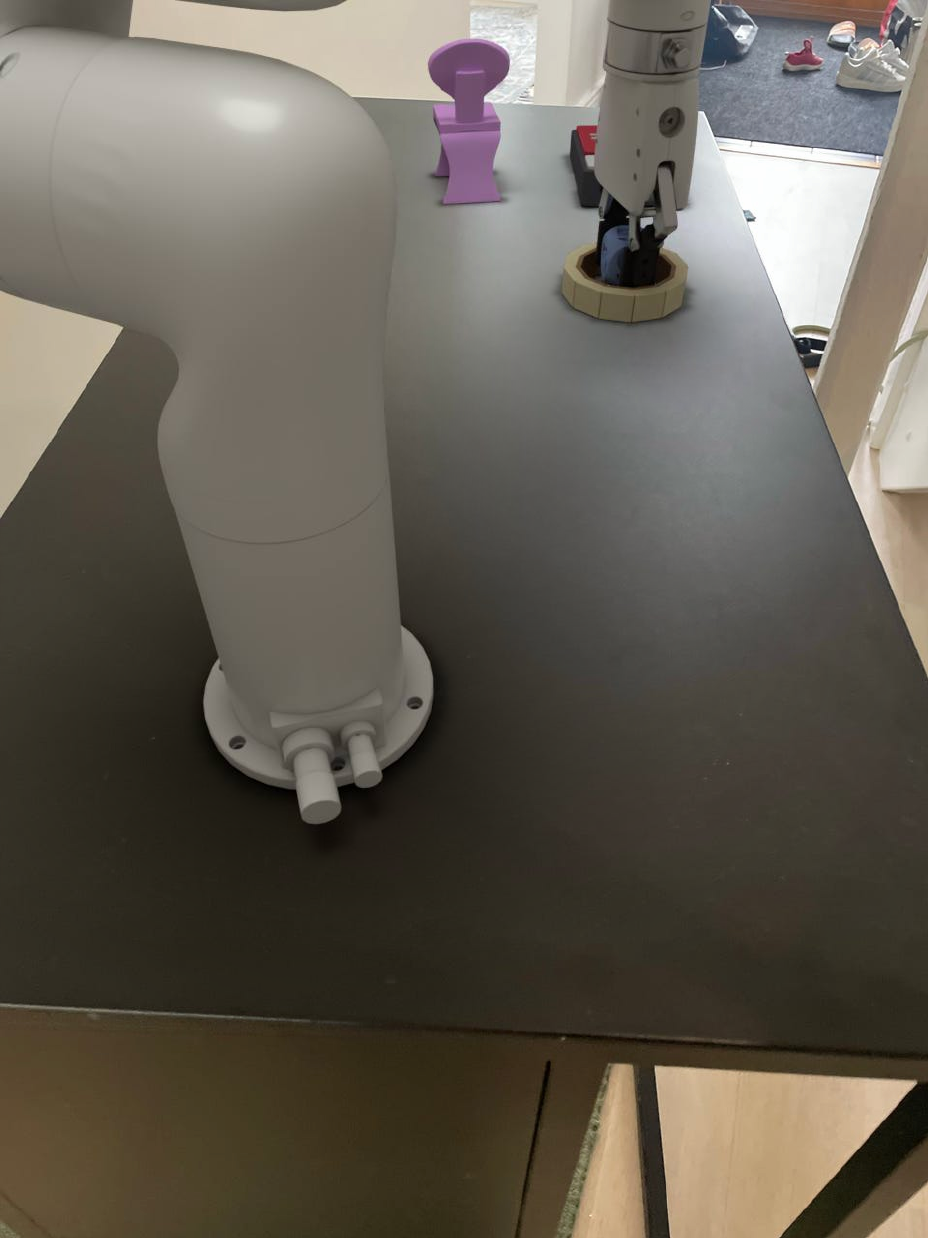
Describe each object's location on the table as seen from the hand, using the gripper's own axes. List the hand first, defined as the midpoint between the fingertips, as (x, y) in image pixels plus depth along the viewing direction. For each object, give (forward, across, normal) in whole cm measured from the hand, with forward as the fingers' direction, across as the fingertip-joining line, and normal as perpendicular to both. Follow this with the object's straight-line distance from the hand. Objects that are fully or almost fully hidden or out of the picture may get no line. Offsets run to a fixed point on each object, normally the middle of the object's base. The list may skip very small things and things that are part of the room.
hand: (623, 274), depth 83 cm
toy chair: (+2, +28, +7) cm, 29 cm away
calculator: (+2, +25, -11) cm, 27 cm away
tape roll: (+2, 0, 0) cm, 2 cm away
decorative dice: (0, 0, 0) cm, 0 cm away
